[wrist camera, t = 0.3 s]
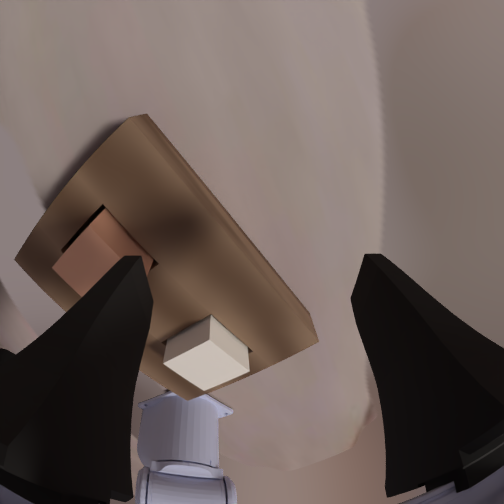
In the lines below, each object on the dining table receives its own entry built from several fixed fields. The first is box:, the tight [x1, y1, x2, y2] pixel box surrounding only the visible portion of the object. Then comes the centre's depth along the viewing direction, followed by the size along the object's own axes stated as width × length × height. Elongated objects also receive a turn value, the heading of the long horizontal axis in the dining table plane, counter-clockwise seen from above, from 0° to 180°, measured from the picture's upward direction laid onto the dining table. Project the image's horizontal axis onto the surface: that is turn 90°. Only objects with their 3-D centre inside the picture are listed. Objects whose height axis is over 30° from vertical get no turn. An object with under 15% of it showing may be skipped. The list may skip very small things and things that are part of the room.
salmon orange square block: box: [52, 208, 154, 297], centre depth 16 cm, size 4×4×3 cm
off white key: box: [163, 314, 250, 391], centre depth 20 cm, size 4×4×3 cm
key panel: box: [15, 114, 319, 401], centre depth 20 cm, size 14×20×3 cm
